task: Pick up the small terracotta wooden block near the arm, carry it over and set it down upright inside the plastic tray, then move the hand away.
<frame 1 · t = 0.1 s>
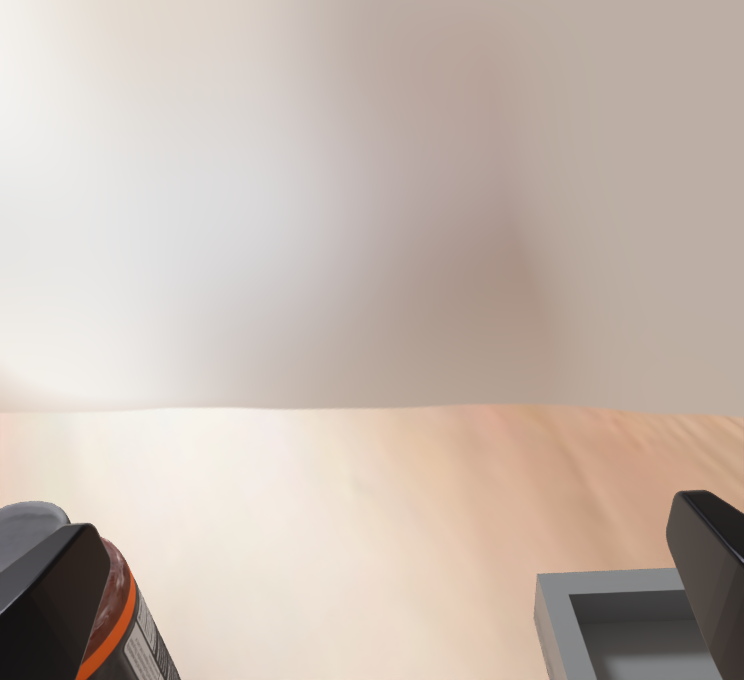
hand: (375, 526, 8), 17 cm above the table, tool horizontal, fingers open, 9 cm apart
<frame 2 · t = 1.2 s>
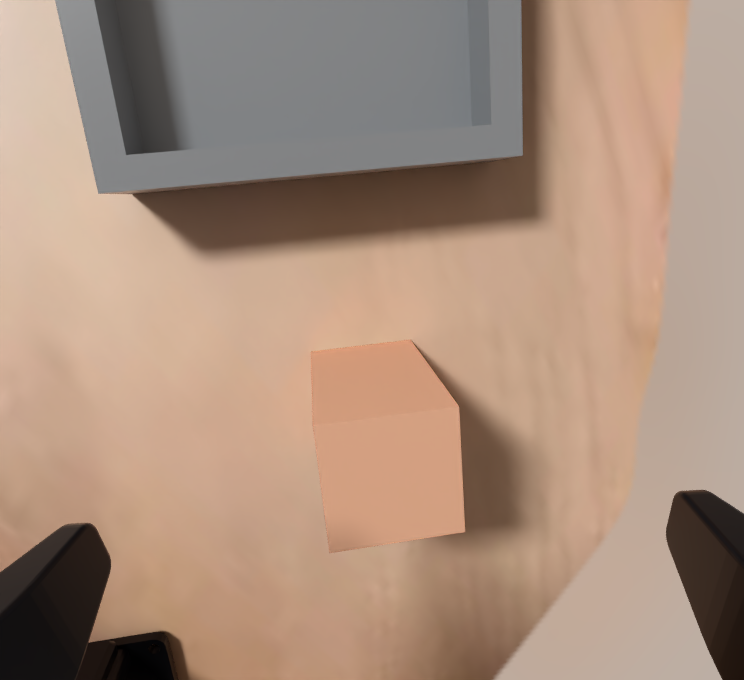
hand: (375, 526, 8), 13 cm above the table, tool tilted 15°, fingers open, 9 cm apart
block: (365, 392, 21), on the table
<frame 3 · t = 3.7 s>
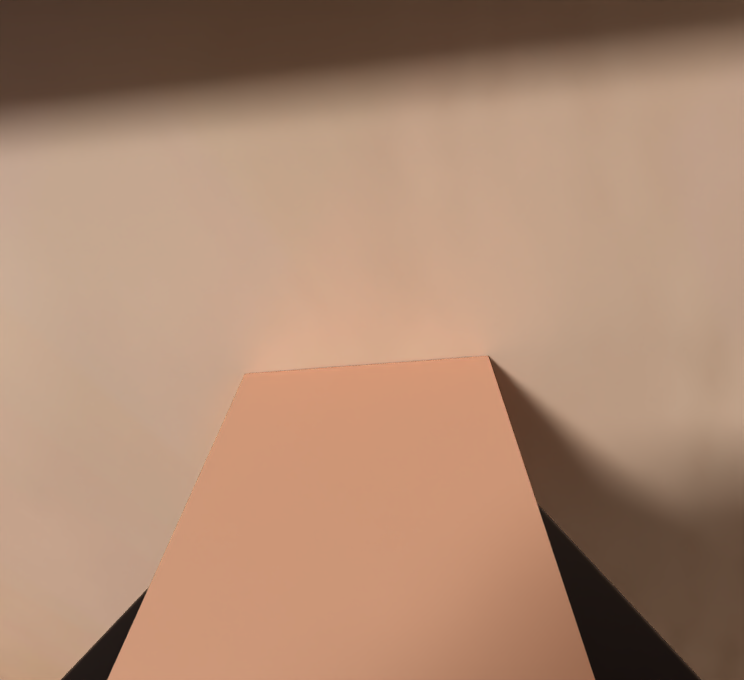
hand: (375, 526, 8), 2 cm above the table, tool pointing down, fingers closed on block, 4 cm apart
block: (376, 459, 10), on the table, touching gripper
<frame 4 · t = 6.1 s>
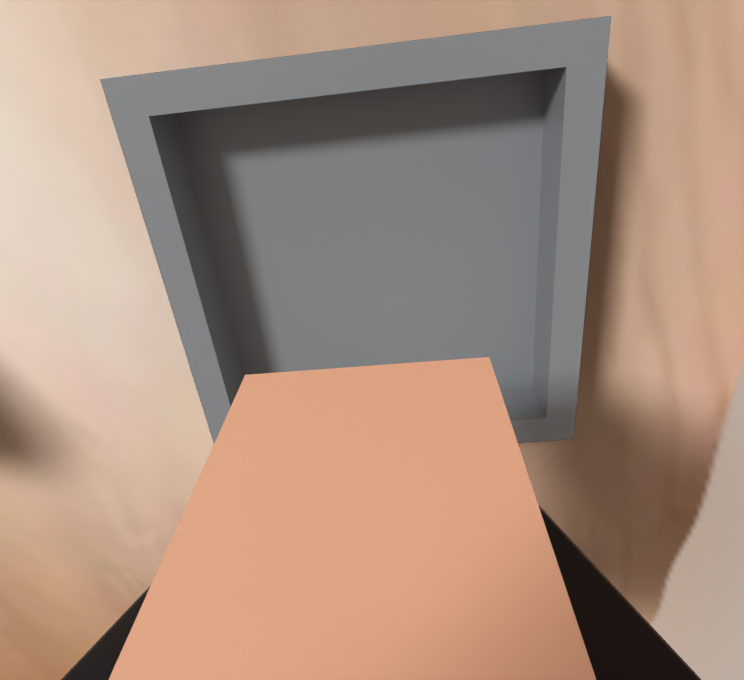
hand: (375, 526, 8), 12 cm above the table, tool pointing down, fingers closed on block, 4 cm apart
tray: (375, 255, 19), on the table
block: (377, 460, 10), point 11 cm above the table, touching gripper
when the fingers open (4 cm above the table, at t = 8.3 s): block drops 1 cm, resting on tray.
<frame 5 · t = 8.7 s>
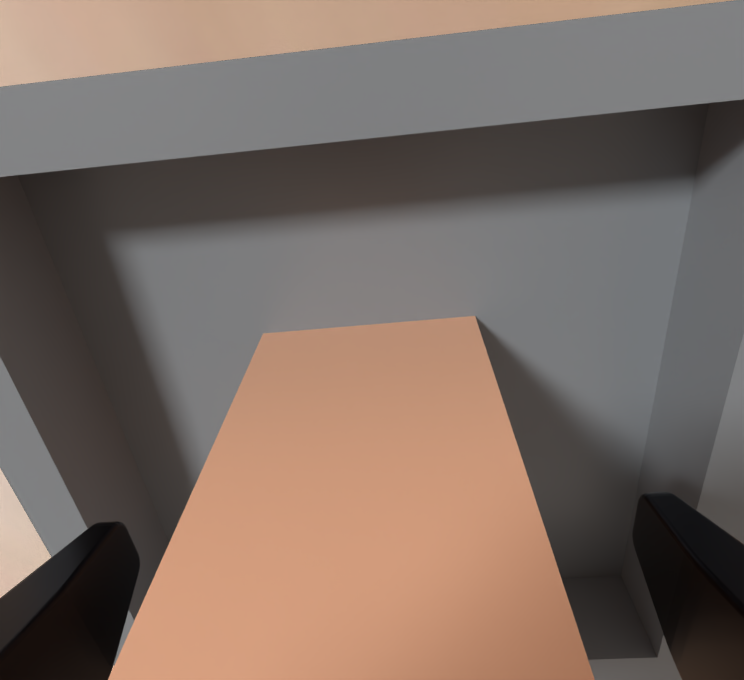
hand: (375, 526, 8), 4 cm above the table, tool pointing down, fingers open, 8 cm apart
tray: (379, 383, 12), on the table
block: (378, 411, 11), point 1 cm above the table, touching tray
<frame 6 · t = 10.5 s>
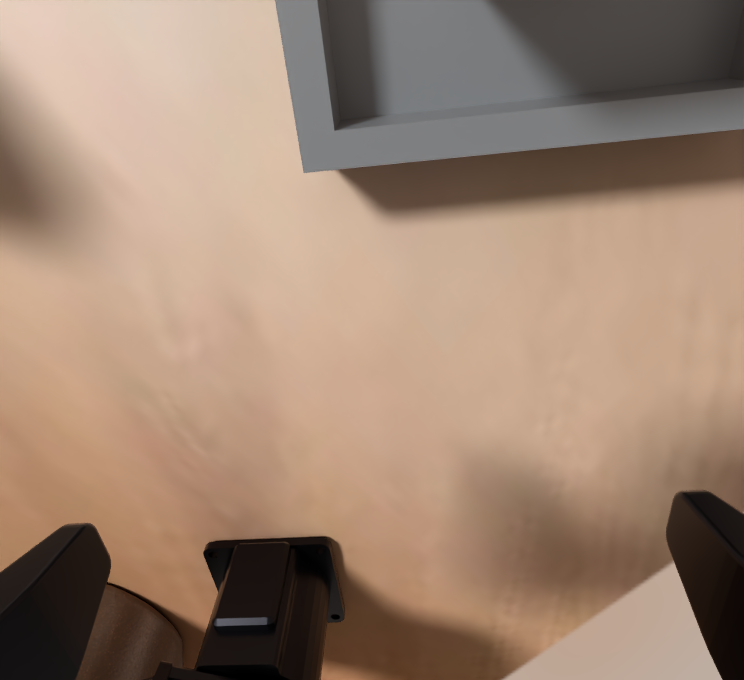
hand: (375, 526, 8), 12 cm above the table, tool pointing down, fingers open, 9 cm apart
plant pot: (89, 630, 32), on the table
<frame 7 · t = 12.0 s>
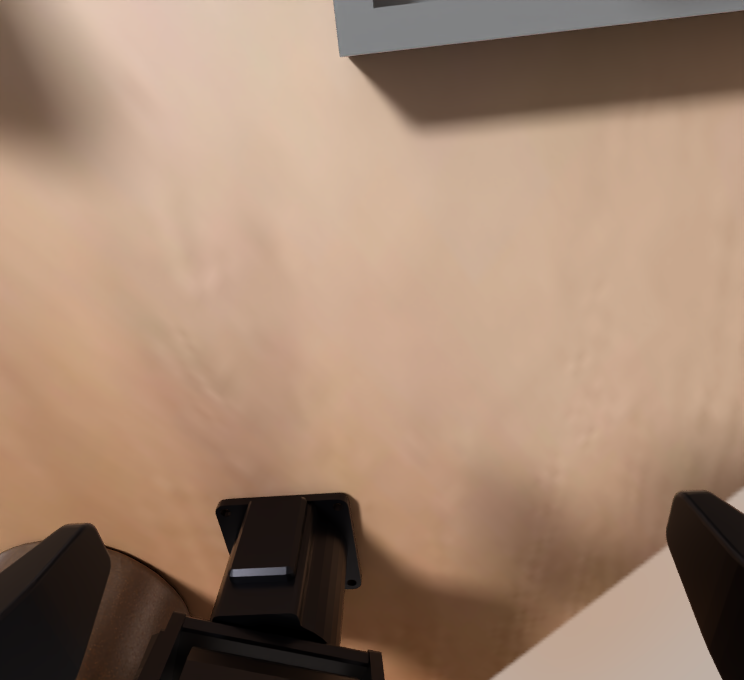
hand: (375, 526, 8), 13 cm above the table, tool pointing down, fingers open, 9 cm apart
plant pot: (91, 604, 31), on the table
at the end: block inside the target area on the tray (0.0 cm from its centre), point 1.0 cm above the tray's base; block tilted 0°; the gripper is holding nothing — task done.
